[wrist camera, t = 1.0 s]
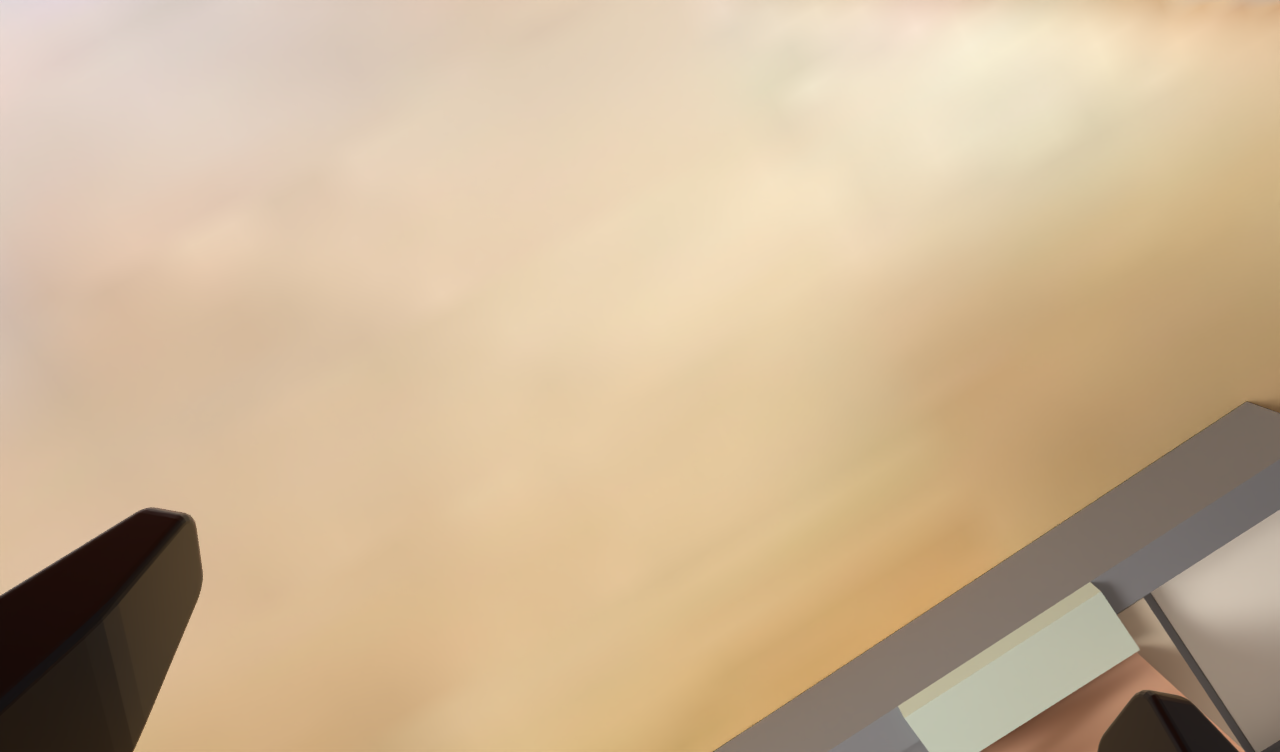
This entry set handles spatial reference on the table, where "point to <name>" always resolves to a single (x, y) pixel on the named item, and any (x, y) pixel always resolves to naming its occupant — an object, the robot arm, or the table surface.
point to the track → (1041, 576)
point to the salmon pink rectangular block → (1115, 694)
